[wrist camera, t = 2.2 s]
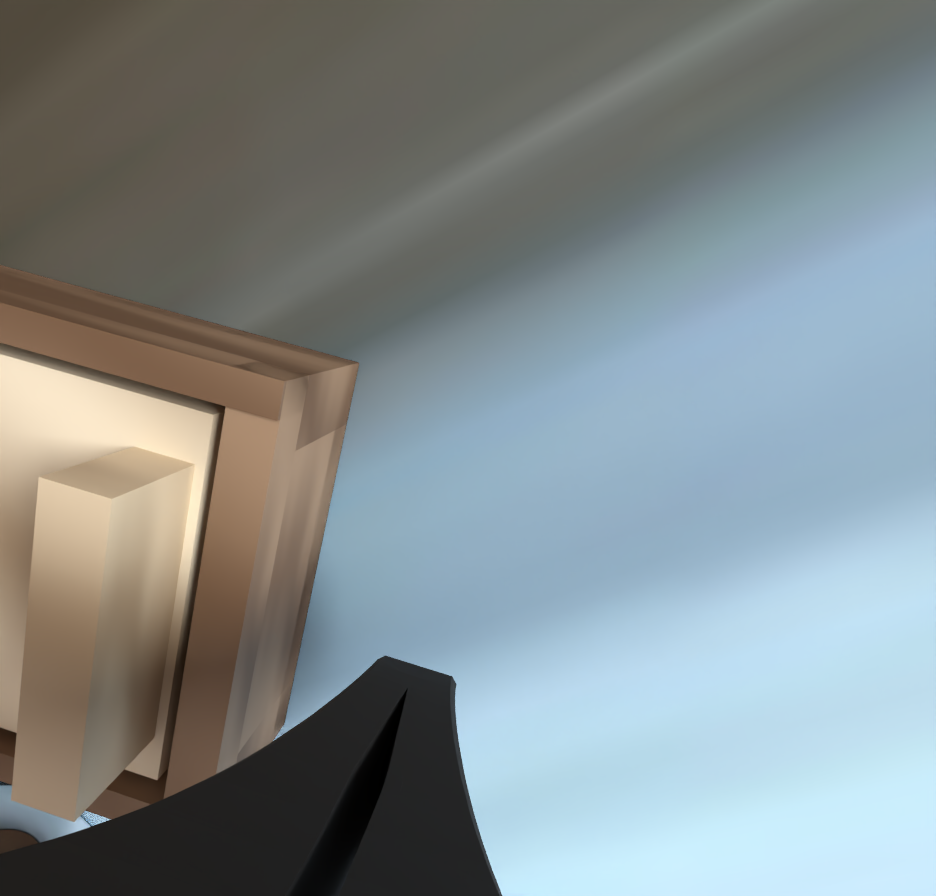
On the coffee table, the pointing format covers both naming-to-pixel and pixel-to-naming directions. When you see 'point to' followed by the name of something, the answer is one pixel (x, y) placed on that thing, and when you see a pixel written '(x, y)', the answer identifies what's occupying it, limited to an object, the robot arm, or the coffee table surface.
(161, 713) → the lid
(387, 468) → the coffee table surface
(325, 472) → the box
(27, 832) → the beer glass
